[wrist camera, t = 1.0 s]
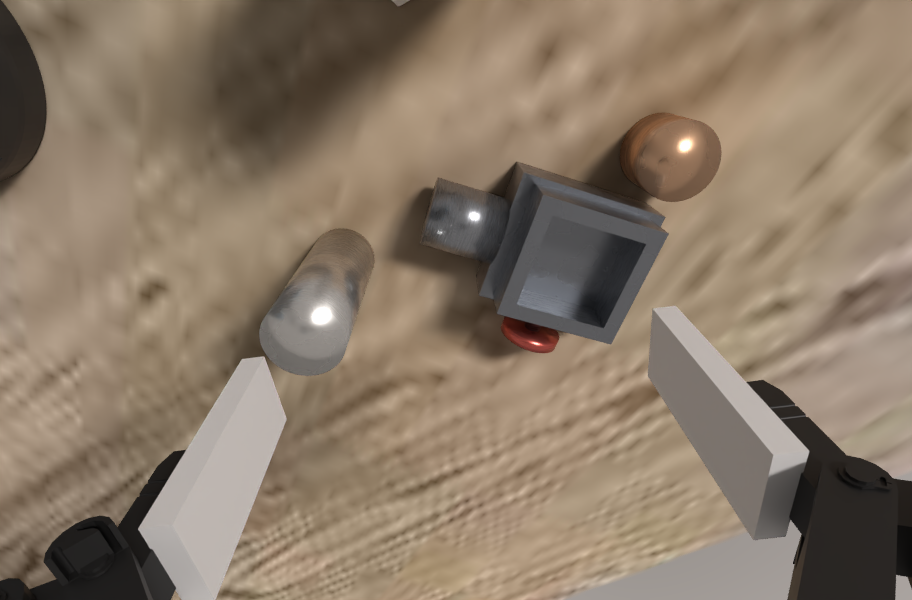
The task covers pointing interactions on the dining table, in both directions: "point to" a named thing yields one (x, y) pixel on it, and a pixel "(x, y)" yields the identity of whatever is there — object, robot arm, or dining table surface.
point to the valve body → (549, 252)
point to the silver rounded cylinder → (319, 305)
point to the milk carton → (400, 2)
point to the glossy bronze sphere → (670, 156)
